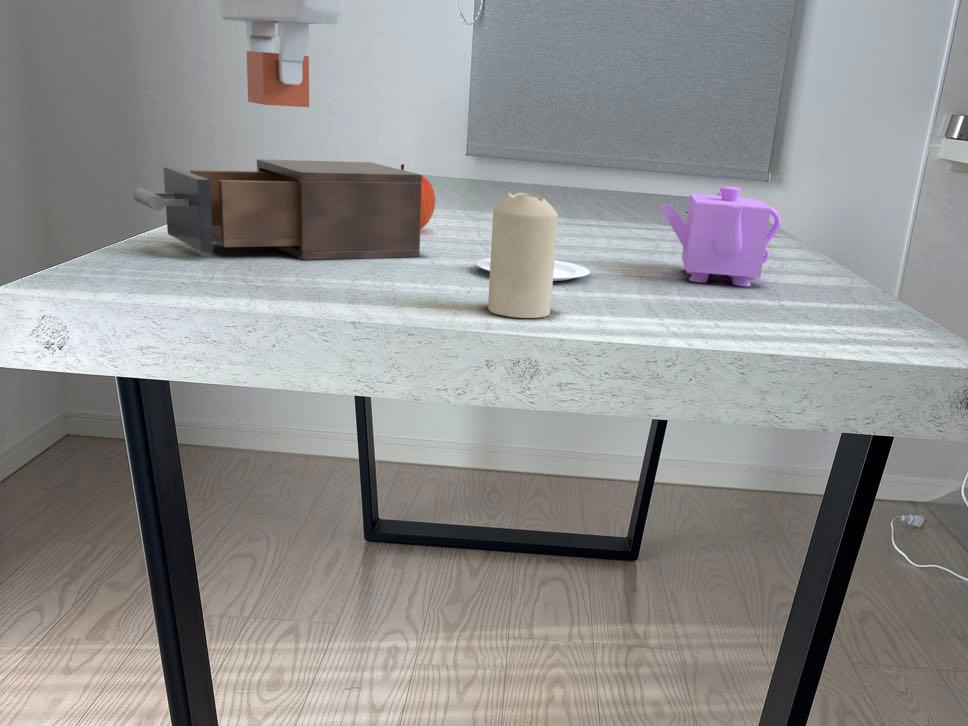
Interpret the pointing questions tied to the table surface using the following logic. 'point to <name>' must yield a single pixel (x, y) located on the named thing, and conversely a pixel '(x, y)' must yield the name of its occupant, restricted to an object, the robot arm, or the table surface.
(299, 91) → the block
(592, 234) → the table surface
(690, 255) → the teapot
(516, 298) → the candle
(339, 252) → the cabinet
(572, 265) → the white saucer
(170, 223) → the drawer
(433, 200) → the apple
